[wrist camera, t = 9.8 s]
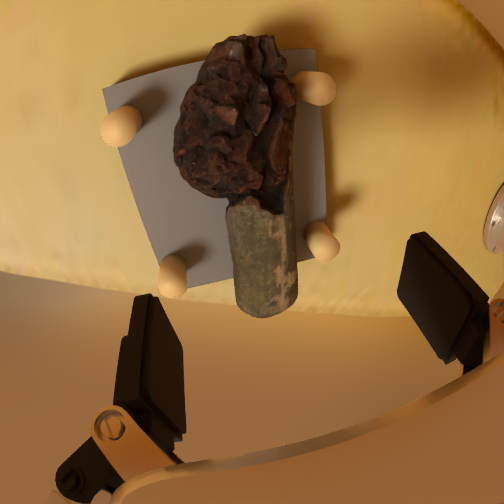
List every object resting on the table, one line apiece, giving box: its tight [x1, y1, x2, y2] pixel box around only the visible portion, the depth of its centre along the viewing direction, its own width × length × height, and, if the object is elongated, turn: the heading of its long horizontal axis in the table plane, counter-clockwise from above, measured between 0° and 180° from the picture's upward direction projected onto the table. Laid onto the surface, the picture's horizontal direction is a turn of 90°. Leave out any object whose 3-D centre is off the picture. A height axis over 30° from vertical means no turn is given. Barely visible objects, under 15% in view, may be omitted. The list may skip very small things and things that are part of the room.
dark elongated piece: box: [173, 34, 298, 318], centre depth 17 cm, size 18×7×6 cm, turn 6°
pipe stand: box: [100, 48, 340, 298], centre depth 19 cm, size 13×16×4 cm
